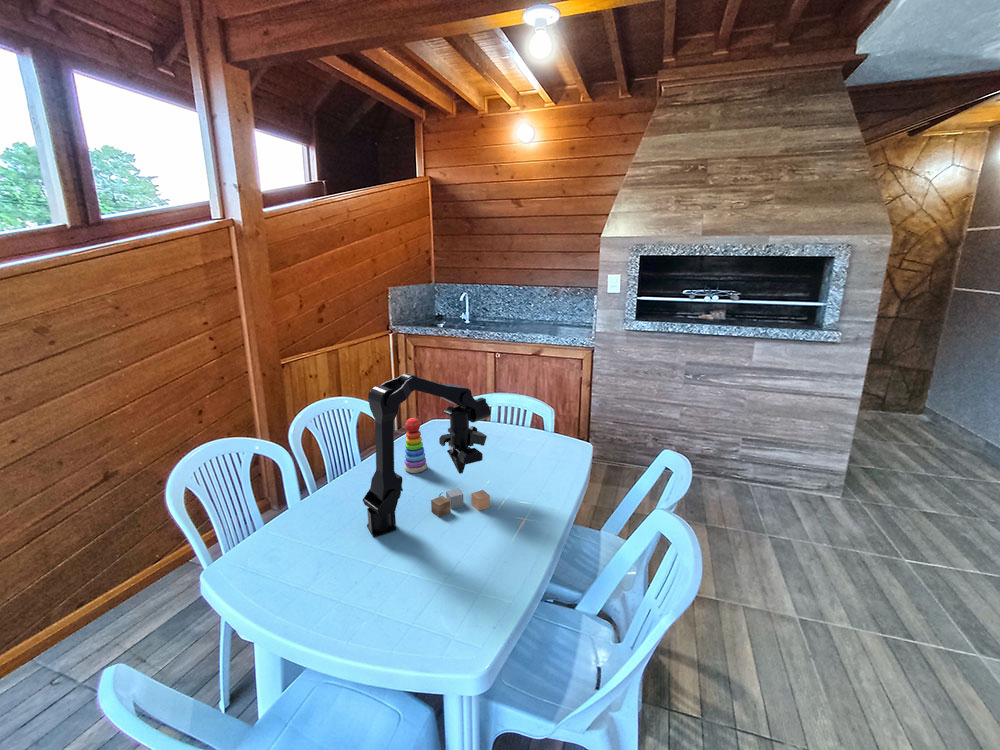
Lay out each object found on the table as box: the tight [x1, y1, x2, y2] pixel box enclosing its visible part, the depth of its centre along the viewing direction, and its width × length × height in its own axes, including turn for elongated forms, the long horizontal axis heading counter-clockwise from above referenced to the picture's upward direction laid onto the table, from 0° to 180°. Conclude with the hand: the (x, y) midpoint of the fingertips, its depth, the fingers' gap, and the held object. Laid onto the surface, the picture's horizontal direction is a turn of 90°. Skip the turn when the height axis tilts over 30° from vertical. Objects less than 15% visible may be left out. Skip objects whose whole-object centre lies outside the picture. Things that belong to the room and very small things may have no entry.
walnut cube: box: [430, 495, 452, 518], centre depth 139 cm, size 4×4×4 cm
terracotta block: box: [471, 489, 491, 511], centre depth 142 cm, size 4×4×4 cm
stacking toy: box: [403, 417, 428, 474], centre depth 165 cm, size 8×8×19 cm
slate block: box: [445, 488, 465, 510], centre depth 143 cm, size 4×4×4 cm
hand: (460, 473), depth 148 cm, fingers closed
